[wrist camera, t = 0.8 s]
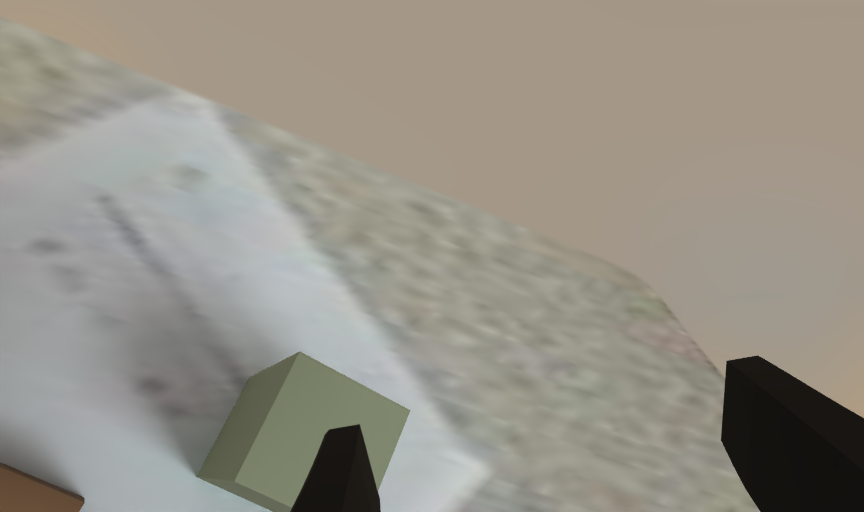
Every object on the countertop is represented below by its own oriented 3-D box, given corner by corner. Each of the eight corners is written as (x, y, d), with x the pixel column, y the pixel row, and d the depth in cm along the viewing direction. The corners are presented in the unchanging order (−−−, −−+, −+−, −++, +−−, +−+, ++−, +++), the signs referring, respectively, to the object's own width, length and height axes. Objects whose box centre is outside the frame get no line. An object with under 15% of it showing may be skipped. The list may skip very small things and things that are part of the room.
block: (293, 520, 25) (359, 538, 19) (196, 476, 24) (234, 481, 18) (337, 422, 27) (410, 410, 21) (249, 377, 26) (299, 351, 20)
